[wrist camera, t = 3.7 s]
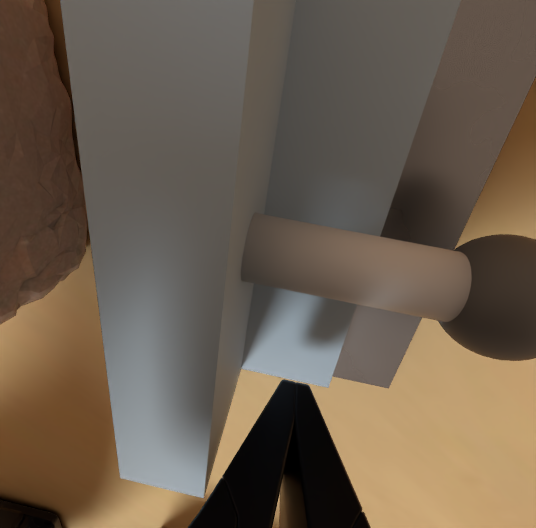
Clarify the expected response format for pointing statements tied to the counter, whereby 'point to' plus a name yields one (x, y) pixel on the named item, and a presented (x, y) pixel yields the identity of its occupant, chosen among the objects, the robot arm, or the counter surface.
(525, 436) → the counter surface
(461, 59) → the vise bed
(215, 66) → the sliding jaw
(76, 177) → the brick
